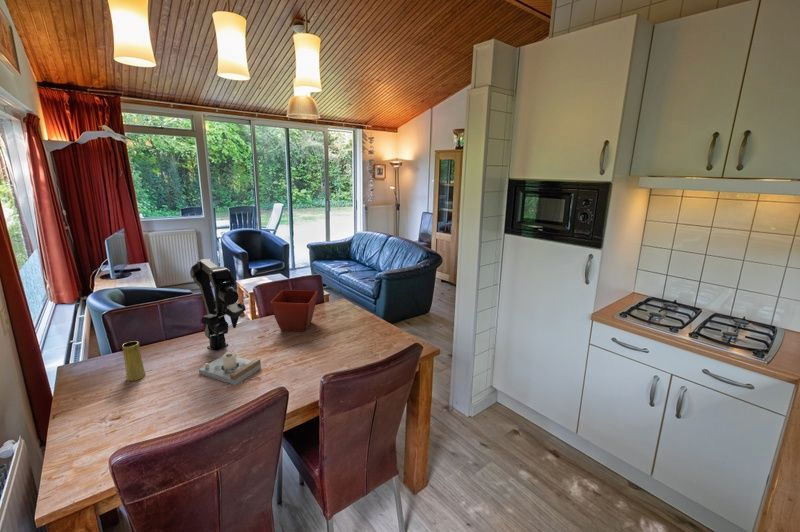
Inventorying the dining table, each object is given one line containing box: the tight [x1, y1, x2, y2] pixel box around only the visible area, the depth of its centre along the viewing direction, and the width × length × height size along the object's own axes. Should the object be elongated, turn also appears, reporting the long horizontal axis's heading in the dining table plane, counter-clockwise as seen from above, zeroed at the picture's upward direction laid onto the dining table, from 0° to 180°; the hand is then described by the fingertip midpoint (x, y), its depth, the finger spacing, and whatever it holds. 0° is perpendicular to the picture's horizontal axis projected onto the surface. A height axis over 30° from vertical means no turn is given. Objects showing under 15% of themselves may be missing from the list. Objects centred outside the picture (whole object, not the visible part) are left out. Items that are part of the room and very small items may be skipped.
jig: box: [198, 351, 262, 386], centre depth 153 cm, size 19×14×4 cm
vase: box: [121, 340, 146, 382], centre depth 146 cm, size 6×6×14 cm
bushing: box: [221, 352, 237, 371], centre depth 153 cm, size 5×5×7 cm
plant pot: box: [270, 289, 318, 332], centre depth 195 cm, size 19×19×17 cm
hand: (226, 331), depth 161 cm, fingers open, 9 cm apart
